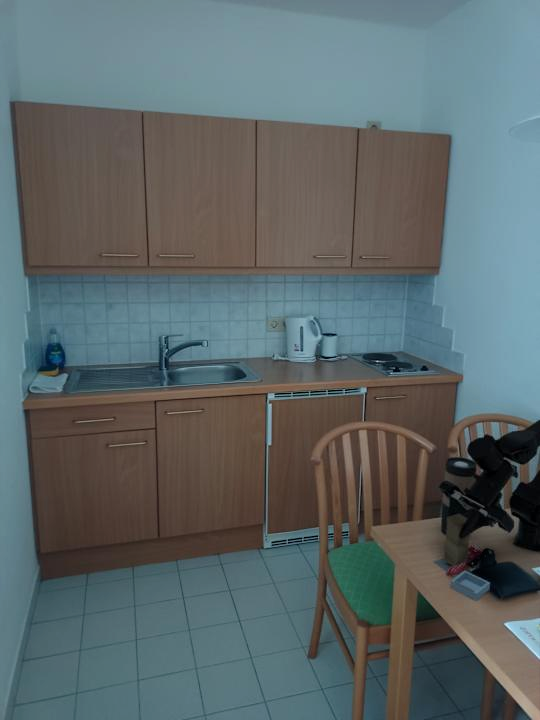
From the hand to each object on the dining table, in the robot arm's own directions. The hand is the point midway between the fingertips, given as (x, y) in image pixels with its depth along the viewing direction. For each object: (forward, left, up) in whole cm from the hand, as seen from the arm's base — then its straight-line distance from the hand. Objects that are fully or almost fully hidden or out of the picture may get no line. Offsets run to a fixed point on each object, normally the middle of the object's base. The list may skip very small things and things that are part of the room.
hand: (453, 534), depth 122 cm
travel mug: (-17, -3, -9) cm, 20 cm away
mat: (-1, +1, -9) cm, 9 cm away
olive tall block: (-1, +1, -7) cm, 8 cm away
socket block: (+6, +6, -9) cm, 12 cm away
